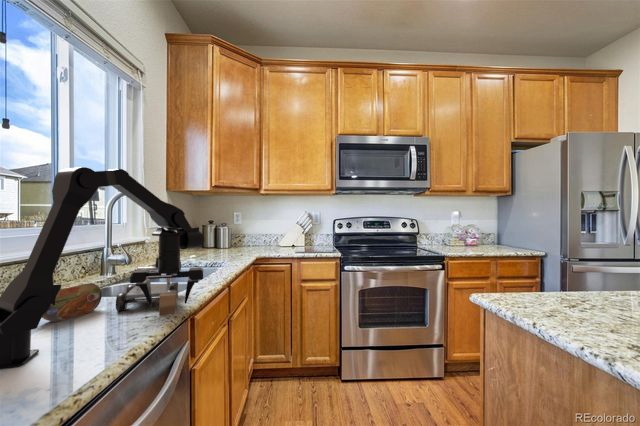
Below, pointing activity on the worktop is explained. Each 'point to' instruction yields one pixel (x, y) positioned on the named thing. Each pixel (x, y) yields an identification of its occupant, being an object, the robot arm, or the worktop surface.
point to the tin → (74, 302)
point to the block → (168, 303)
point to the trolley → (136, 292)
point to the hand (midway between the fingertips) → (168, 304)
